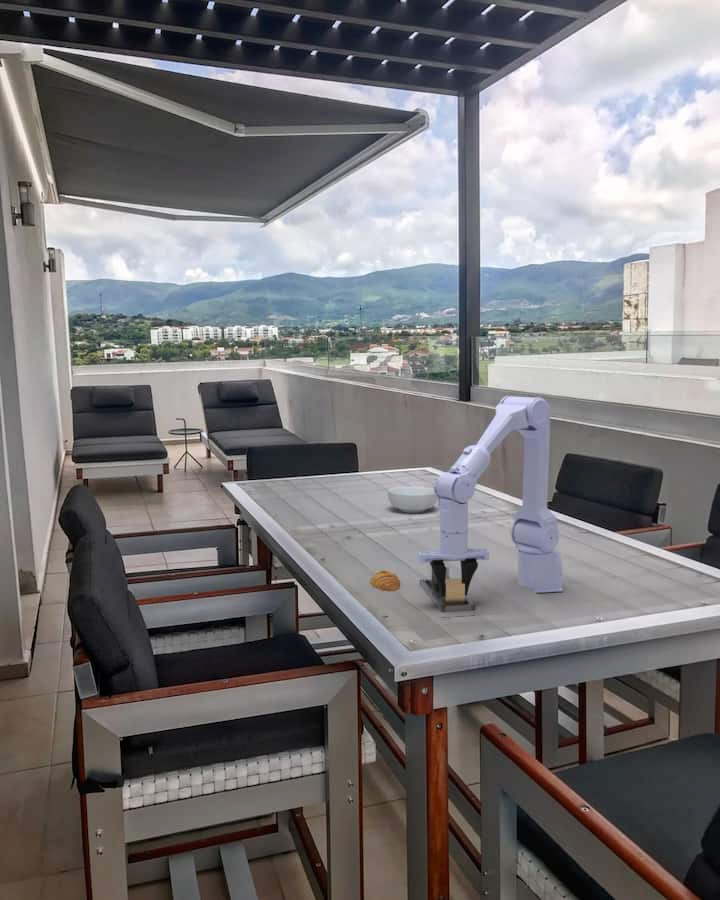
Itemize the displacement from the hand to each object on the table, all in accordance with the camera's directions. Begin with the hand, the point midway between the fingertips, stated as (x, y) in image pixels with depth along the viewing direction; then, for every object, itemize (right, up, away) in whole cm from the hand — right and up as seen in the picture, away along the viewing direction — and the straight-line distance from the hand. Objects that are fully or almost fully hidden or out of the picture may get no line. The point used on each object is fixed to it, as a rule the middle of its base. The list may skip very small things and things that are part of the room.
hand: (453, 594), depth 170 cm
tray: (-1, -3, +6) cm, 7 cm away
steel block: (-2, -1, +13) cm, 13 cm away
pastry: (-13, -2, +16) cm, 21 cm away
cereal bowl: (-2, +9, +105) cm, 105 cm away
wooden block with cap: (0, -2, 0) cm, 2 cm away
